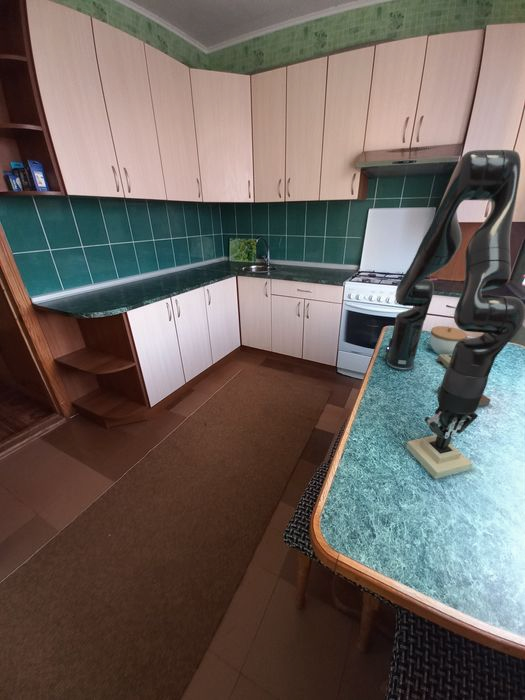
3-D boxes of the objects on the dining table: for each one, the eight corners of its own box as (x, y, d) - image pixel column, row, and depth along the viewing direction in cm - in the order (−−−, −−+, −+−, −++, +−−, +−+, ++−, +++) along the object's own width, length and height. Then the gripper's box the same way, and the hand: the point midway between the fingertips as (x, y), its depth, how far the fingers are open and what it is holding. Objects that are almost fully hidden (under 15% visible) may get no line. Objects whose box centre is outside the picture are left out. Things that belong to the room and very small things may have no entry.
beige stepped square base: (405, 447, 75) (408, 435, 73) (437, 439, 77) (441, 428, 76) (434, 479, 67) (439, 467, 65) (470, 469, 69) (475, 457, 67)
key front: (428, 447, 72) (430, 442, 71) (439, 445, 73) (441, 439, 72) (438, 457, 69) (440, 452, 68) (449, 454, 70) (451, 449, 69)
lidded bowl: (421, 344, 128) (427, 321, 122) (452, 345, 126) (460, 322, 121) (432, 358, 116) (439, 333, 111) (466, 359, 115) (475, 334, 110)
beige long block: (485, 381, 101) (488, 373, 99) (462, 383, 101) (465, 374, 99) (455, 360, 115) (458, 352, 113) (436, 361, 115) (438, 353, 113)
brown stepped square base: (436, 392, 96) (439, 382, 94) (461, 387, 98) (465, 377, 97) (462, 410, 88) (466, 400, 86) (488, 405, 90) (493, 394, 88)
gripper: (472, 373, 67) (451, 430, 75) (423, 382, 64) (407, 440, 72) (503, 391, 60) (477, 452, 68) (450, 402, 58) (429, 463, 65)
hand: (441, 446), depth 70 cm, fingers closed
